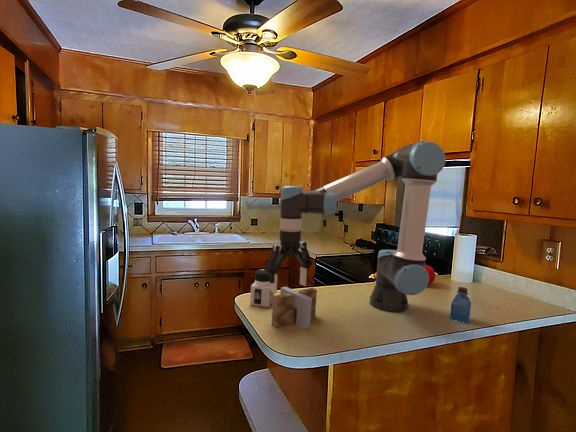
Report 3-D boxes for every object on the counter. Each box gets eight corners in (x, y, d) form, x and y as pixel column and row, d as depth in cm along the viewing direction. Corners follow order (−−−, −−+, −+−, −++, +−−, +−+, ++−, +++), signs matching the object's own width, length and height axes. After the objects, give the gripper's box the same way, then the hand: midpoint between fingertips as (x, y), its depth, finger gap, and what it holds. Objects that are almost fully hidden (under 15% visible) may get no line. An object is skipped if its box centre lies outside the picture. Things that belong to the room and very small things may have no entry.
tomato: (432, 289, 163) (434, 268, 162) (406, 284, 169) (408, 263, 168) (436, 284, 172) (438, 264, 171) (411, 279, 179) (413, 260, 178)
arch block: (279, 314, 123) (280, 287, 122) (284, 312, 124) (285, 286, 123) (304, 328, 112) (306, 299, 111) (310, 326, 114) (311, 298, 113)
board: (310, 313, 125) (312, 287, 124) (315, 316, 123) (316, 289, 122) (271, 325, 113) (273, 296, 112) (275, 327, 112) (277, 298, 110)
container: (269, 307, 129) (270, 274, 127) (249, 304, 130) (251, 272, 129) (273, 300, 136) (275, 269, 135) (255, 298, 138) (257, 267, 136)
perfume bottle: (468, 323, 124) (471, 292, 122) (449, 319, 127) (453, 288, 126) (469, 318, 129) (472, 288, 128) (451, 314, 132) (454, 284, 131)
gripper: (309, 226, 129) (307, 279, 131) (255, 231, 113) (253, 291, 116) (323, 228, 123) (320, 284, 126) (268, 234, 108) (266, 298, 110)
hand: (288, 288), depth 121 cm, fingers open, 13 cm apart
